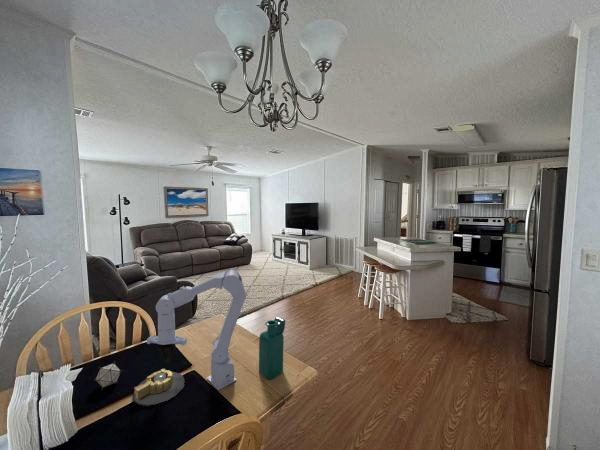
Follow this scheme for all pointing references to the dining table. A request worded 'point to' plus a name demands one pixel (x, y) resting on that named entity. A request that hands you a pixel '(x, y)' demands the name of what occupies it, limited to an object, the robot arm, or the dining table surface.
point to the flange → (163, 396)
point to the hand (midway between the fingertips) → (167, 361)
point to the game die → (108, 375)
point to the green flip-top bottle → (272, 349)
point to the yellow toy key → (155, 384)
